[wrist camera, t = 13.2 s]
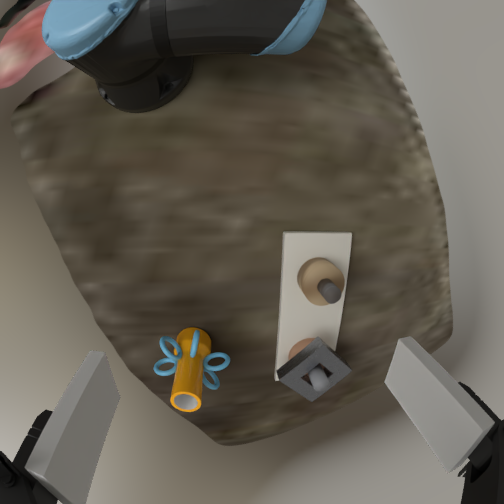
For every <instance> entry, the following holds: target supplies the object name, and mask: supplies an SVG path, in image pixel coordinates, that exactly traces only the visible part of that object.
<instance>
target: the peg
mask: <svg viewBox="0 0 504 504" xmlns="http://www.w3.org/2000/svg"><path fill="white" fill-rule="evenodd" d="M314 339H315V338H307V339H303V340H301V341H299V342H297V343H296V344H295V345H294V346H293V347H292V348H291V350H290V352H289V355H288V358H289V360H290V359H291V358H293V357H294V356H295V355H296V354H298V353H299V352H300V351H301V350H302V349H304V348H305V347H306V346H307V345H308V344H310V343H311V342H312V341H313V340H314ZM324 368H325V367H324V366H323V365H322V364H321V363H319V364H318V365H316V366H315V367H314V368H313V369H311V370H310V371H309V372H308V373H306V374H305V375H306V376H308V377H309V378H310V380H311V383H312V385H313V387H314V390H315V391H318V392H321V391H324V390H326V389H327V388H328V387H329V385H330V382H329V380H328V378H327V376H326V374H325V372H324V370H323V369H324Z"/></svg>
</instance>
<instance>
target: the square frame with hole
mask: <svg viewBox="0 0 504 504" xmlns="http://www.w3.org/2000/svg"><path fill="white" fill-rule="evenodd" d="M319 363H321V364H322V365H323V366H324V367H325V368H324V369H323V370H324V372H325V374H326V376H327V378H328V380H329V382H330V385H329V387H328V388H327V389H326V390H324V391H321V392H318V391H315V390H314V387H313V385H312V383H311V380H310V378H309V377H308V376H306V375H305V374H306V373H308V372H309V371H310V370H311V369H313V368H314V367H315V366H316V365H318V364H319ZM276 371H277V375H278V379H279V381H281V382H282V383H284V384H285V385H287V386H288V387H290V388H291V389H293V390H294V391H296V392H297V393H299V394H300V395H302V396H304V397H305V398H307V399H308V400H310V401H311V402H312V401H314V400H315V399H317V398H318V397H319V396H321V395H322V394H323V393H325V392H326V391H327V390H329V389H330V388H331V387H332V386H334V385H335V384H336V383H338V382H339V381H340V380H341V379H343V378H344V377H345V376H346V375H348V374H349V373H350V372H351V371H352V369H351V368H350V366H349V365H348V363H347V362H346V361H345V360H344V359H343V358H342V357H341V356H340V355H338V354H337V353H336V352H335V351H334V350H333V349H332V348H331V347H330V346H328V345H327V344H326V343H325V342H324V341H323V340H322V339H321V338H320V337H317V338H315V339H314V340H313V341H312V342H311V343H310V344H308V345H307V346H306V347H305V348H304V349H302V350H301V351H300V352H299V353H298V354H296V355H295V356H294V357H293V358H291V359H290V360H289V361H288V362H286V363H285V364H284V365H283V366H281V367H280V368H279V369H278V370H276Z"/></svg>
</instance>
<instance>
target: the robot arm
mask: <svg viewBox="0 0 504 504" xmlns="http://www.w3.org/2000/svg"><path fill="white" fill-rule="evenodd" d="M326 3H327V0H52V1H51V3H50V5H49V7H48V9H47V11H46V13H45V16H44V19H43V23H42V36H43V39H44V41H45V43H46V45H47V46H48V47H50V48H51V49H52V50H53V51H55V53H56V54H57V55H58V56H59V58H61V59H63V60H66V61H67V62H69V63H70V64H72V65H74V66H75V67H77V68H78V69H80V70H82V71H83V72H85V73H86V74H88V75H89V76H91V77H92V78H94V79H95V81H96V84H97V87H98V90H99V92H100V94H101V96H102V97H103V98H104V100H105V101H106V102H108V103H109V104H110V105H112V106H114V107H115V108H117V109H119V110H121V111H125V112H130V113H140V112H146V111H150V110H153V109H156V108H159V107H161V106H163V105H164V104H166V103H168V102H169V101H170V100H172V99H173V98H174V97H175V96H176V95H178V94H179V92H180V91H181V90H182V89H183V88H184V86H185V85H186V83H187V82H188V80H189V78H190V75H191V72H192V68H193V55H204V54H250V55H252V56H259V55H263V54H278V55H287V54H291V53H293V52H295V51H298V50H300V49H302V48H303V47H304V46H305V45H306V44H307V43H308V42H309V41H310V39H311V38H312V36H313V35H314V33H315V31H316V30H317V28H318V26H319V24H320V21H321V19H322V16H323V14H324V10H325V7H326ZM385 384H386V385H387V387H388V388H389V389H390V391H391V392H392V394H393V395H394V396H395V398H396V399H397V401H398V402H399V403H400V405H401V406H402V408H403V409H404V410H405V412H406V413H407V415H408V416H409V418H410V419H411V420H412V422H413V423H414V425H415V426H416V427H417V429H418V431H419V432H420V433H421V435H422V436H423V438H424V439H425V441H426V442H427V444H428V445H429V446H430V448H431V450H432V451H433V452H434V454H435V456H436V457H437V459H438V460H439V461H440V463H441V465H442V466H443V468H444V469H445V471H446V472H447V473H450V472H451V471H453V470H454V469H456V468H457V467H459V466H461V464H462V463H463V462H464V461H465V460H466V459H467V458H469V460H470V461H469V462H468V463H467V465H465V467H464V468H463V469H462V470H461V471H460V472H459V474H458V477H459V476H461V475H462V473H464V472H465V471H466V473H465V474H464V475H463V477H465V483H464V489H463V494H462V500H461V504H504V420H502V421H501V420H500V419H499V418H498V417H497V416H496V415H495V414H494V413H493V412H492V410H491V409H490V408H489V407H488V406H487V405H486V404H485V403H484V402H483V401H481V399H480V398H479V397H478V396H477V395H475V393H474V392H473V391H472V390H471V388H469V387H468V386H466V385H465V384H463V383H461V382H459V383H457V382H456V381H455V379H454V378H452V377H451V375H450V374H449V373H447V371H445V369H444V368H443V367H442V366H441V365H440V364H439V363H438V362H437V361H436V360H435V359H434V358H433V357H432V356H431V355H430V354H428V353H427V352H426V351H425V350H424V349H423V348H422V347H421V346H420V345H419V344H418V343H417V342H416V341H415V340H414V339H413V338H412V337H411V336H410V337H405V338H400V339H399V340H398V343H397V346H396V350H395V353H394V356H393V359H392V362H391V365H390V368H389V371H388V374H387V376H386V379H385ZM119 400H120V395H119V393H118V390H117V387H116V384H115V381H114V378H113V375H112V372H111V369H110V366H109V363H108V360H107V356H106V353H105V352H100V351H92V350H90V352H89V353H88V355H87V356H86V358H85V360H84V361H83V363H82V364H81V366H80V367H79V369H78V370H77V372H76V374H75V375H74V377H73V379H72V380H71V382H70V383H69V385H68V387H67V389H66V390H65V392H64V393H63V395H62V397H61V399H60V400H59V402H58V404H57V406H56V407H55V409H54V411H53V412H52V411H49V410H45V411H44V412H42V413H41V414H40V415H39V416H37V418H36V420H35V421H34V423H33V425H32V428H30V430H29V432H28V436H26V438H25V439H24V441H23V443H22V445H21V447H20V449H19V451H18V452H17V454H16V457H15V458H14V461H13V462H11V461H10V460H9V459H8V458H7V457H6V455H5V454H4V453H2V451H0V504H57V500H59V501H60V502H61V503H63V504H86V501H87V497H88V493H89V490H90V486H91V483H92V479H93V476H94V473H95V469H96V466H97V463H98V460H99V457H100V453H101V450H102V447H103V444H104V441H105V438H106V436H107V432H108V430H109V427H110V424H111V421H112V418H113V416H114V413H115V410H116V408H117V405H118V402H119Z"/></svg>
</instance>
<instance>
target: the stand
mask: <svg viewBox="0 0 504 504" xmlns="http://www.w3.org/2000/svg"><path fill="white" fill-rule="evenodd" d="M297 282H298V285H299V287H300V289H301V290H302V292H303V294H304V295H305V297H306V298H307V300H308V301H309V302H311V303H312V304H314V305H317V306H325V305H329V304H334V303H336V302H338V301H339V300H340V298H341V294H342V292H343V289H344V286H345V279H344V276H343V273H342V272H341V271H340V270H339V269H338V268H337V267H336V266H335V265H334V264H332V263H331V262H330V261H329V260H327V259H325V258H322V257H315V258H312V259H309V260H308V261H306V262H305V263H304V264H303V265H302V266H301V267H300V269H299V271H298V275H297Z"/></svg>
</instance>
